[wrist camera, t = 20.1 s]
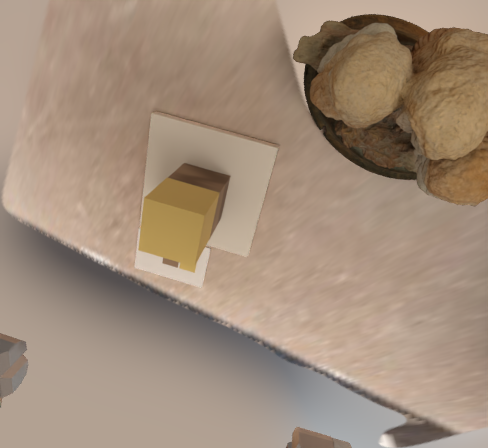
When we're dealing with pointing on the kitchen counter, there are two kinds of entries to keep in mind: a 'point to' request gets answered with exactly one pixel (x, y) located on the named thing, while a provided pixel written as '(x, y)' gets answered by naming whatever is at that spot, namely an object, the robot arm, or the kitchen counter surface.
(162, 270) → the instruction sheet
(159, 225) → the mustard block
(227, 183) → the walnut block
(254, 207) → the plate
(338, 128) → the three owls sculpture
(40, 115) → the kitchen counter surface
